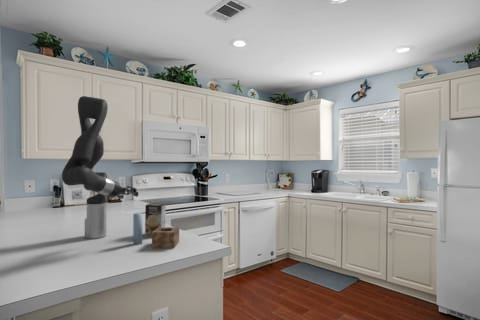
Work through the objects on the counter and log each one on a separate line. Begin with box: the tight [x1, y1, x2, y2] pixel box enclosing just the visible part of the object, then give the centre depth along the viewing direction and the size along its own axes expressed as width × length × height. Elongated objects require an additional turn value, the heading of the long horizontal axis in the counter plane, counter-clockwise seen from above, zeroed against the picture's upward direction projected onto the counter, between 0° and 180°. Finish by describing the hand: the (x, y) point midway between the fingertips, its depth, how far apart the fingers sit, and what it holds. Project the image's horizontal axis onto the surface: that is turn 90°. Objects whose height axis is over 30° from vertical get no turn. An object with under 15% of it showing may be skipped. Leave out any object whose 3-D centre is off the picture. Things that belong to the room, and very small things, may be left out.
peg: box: [132, 212, 143, 246], centre depth 133 cm, size 4×4×14 cm
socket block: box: [151, 226, 180, 249], centre depth 131 cm, size 10×10×7 cm
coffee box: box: [144, 203, 166, 237], centre depth 150 cm, size 9×6×16 cm
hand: (130, 195), depth 139 cm, fingers open, 8 cm apart
